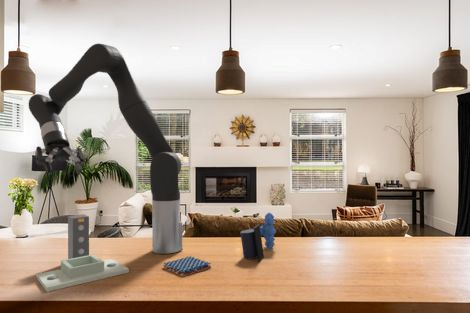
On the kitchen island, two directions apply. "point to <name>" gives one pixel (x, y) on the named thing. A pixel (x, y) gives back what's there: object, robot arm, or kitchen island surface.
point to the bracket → (80, 272)
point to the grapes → (268, 230)
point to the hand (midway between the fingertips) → (65, 172)
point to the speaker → (252, 243)
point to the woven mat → (186, 266)
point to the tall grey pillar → (78, 236)
